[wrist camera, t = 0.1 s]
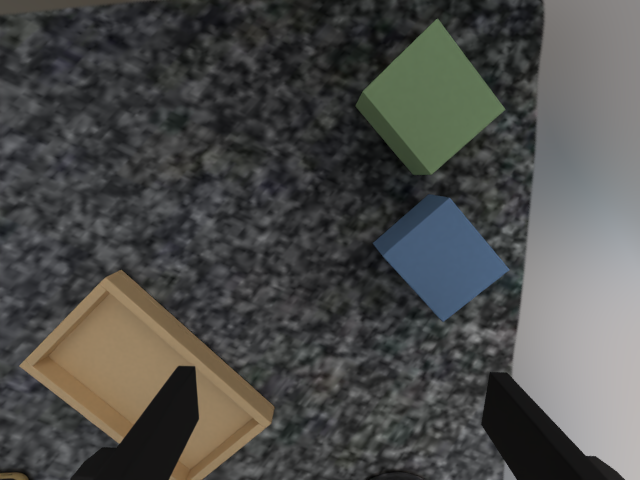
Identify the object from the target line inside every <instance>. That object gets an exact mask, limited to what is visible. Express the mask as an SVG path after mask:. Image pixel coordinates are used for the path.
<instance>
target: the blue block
mask: <svg viewBox="0 0 640 480" xmlns="http://www.w3.org/2000/svg"><path fill="white" fill-rule="evenodd" d="M373 244H374V246H375V247H376V248H377V250H378V251H379V252H380V253H381V255H382V256H383V257H384V258H385V259H386V260H387V262H388V263H389V264H390V265H391V266H392V267H393V268H394V269H395V270H396V271H397V272H398V274H399V275H400V276H401V277H402V278H403V279H404V280H405V281H406V282H407V283H408V285H409V286H410V287H411V288H412V289H413V290H414V291H415V292H416V293H417V294H418V295H419V297H420V298H421V299H422V300H423V301H424V302H425V303H426V304H427V305H428V306H429V307H430V309H431V310H432V311H433V312H434V313H435V314H436V315H437V316H438V317H439V318H440V320H441V321H443V322H444V321H445V320H446V319H448V318H449V317H450V316H451V315H453V314H454V313H455V312H457V311H458V310H459V309H460V308H462V307H463V306H464V305H465V304H467V303H468V302H469V301H471V300H472V299H473V298H474V297H476V296H477V295H478V294H479V293H481V292H482V291H483V290H484V289H486V288H487V287H488V286H490V285H491V284H492V283H493V282H495V281H496V280H497V279H498V278H500V277H501V276H502V275H504V274H505V273H506V272H507V271H509V269H508V267H507V266H506V265H505V264H504V262H503V261H502V260H501V259H500V258H499V256H498V255H497V254H496V253H495V252H494V250H493V249H492V248H491V247H490V246H489V244H488V243H487V242H486V241H485V240H484V238H483V237H482V236H481V235H480V234H479V232H478V231H477V230H476V229H475V228H474V226H473V225H472V224H471V223H470V221H469V220H468V219H467V218H466V217H465V215H464V214H463V213H462V212H461V211H460V209H459V208H458V207H457V206H456V205H455V203H454V202H453V201H452V200H451V199H450V198H448V197H442V196H436V195H430V194H428V195H427V196H426V197H425V198H424V199H423V200H422V201H420V202H419V203H418V204H417V205H416V206H415V207H414V208H412V209H411V210H410V211H409V212H408V213H407V214H405V215H404V216H403V217H402V218H401V219H400V220H399V221H397V222H396V223H395V224H394V225H393V226H392V227H391V228H389V229H388V230H387V231H386V232H385V233H384V234H383V235H381V236H380V237H379V238H378V239H377V240H376V241H375V242H373Z"/></svg>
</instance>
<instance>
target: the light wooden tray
mask: <svg viewBox="0 0 640 480" xmlns="http://www.w3.org/2000/svg"><path fill="white" fill-rule="evenodd" d="M178 366H195V368H196V382H197V395H198V408H199V420H198V422H197V424H196V426H195V428H194V430H193V432H192V434H191V436H190V438H189V440H188V442H187V444H186V446H185V448H184V450H183V452H182V454H181V456H180V458H179V460H178V462H177V464H176V466H175V468H174V470H173V472H172V475H171V477H170V479H169V480H202V479H203V478H205V477H206V476H207V475H208V474H210V473H211V472H212V471H213V470H215V469H216V468H217V467H218V466H220V465H221V464H222V463H223V462H224V461H226V460H227V459H228V458H229V457H231V456H232V455H233V454H234V453H236V452H237V451H238V450H239V449H240V448H242V447H243V446H244V445H245V444H247V443H248V442H249V441H250V440H252V439H253V438H254V437H255V436H257V435H258V434H259V433H260V432H261V431H263V430H264V429H265V428H266V427H268V426H269V425H270V424H271V422H272V417H273V412H274V406H273V405H272V404H271V403H270V402H269V401H268V400H266V399H265V398H264V397H263V396H262V395H261V394H260V393H259V392H258V391H256V390H255V389H254V388H253V387H252V386H251V385H250V384H249V383H247V382H246V381H245V380H244V379H243V378H242V377H241V376H240V375H239V374H237V373H236V372H235V371H234V370H233V369H232V368H231V367H230V366H228V365H227V364H226V363H225V362H224V361H223V360H222V359H221V358H220V357H218V356H217V355H216V354H215V353H214V352H213V351H212V350H211V349H209V348H208V347H207V346H206V345H205V344H204V343H203V342H202V341H201V340H199V339H198V338H197V337H196V336H195V335H194V334H193V333H192V332H190V331H189V330H188V329H187V328H186V327H185V326H184V325H183V324H182V323H180V322H179V321H178V320H177V319H176V318H175V317H174V316H173V315H171V314H170V313H169V312H168V311H167V310H166V309H165V308H164V307H163V306H161V305H160V304H159V303H158V302H157V301H156V300H155V299H154V298H152V297H151V296H150V295H149V294H148V293H147V292H146V291H145V290H144V289H142V288H141V287H140V286H139V285H138V284H137V283H136V282H135V281H133V280H132V279H131V278H130V277H129V276H128V275H127V274H126V273H125V272H123V271H122V270H120V271H118V272H116V273H114V274H112V275H109V276H107V277H105V278H104V279H103V280H102V281H101V282H100V284H98V285H97V286H96V287H95V288H94V289H93V290H92V292H91V293H90V294H89V295H88V296H87V297H86V298H85V299H84V300H83V301H82V302H81V303H80V304H79V305H78V306H77V307H76V308H75V309H74V310H73V311H72V312H71V313H70V314H69V315H68V316H67V317H66V318H65V319H64V320H63V321H62V322H61V323H60V324H59V325H58V327H57V328H56V329H55V330H54V331H53V332H52V333H51V334H50V335H49V336H48V337H47V338H46V339H45V340H44V341H43V342H42V343H41V344H40V345H39V346H38V347H37V348H36V349H35V350H34V351H33V352H32V353H31V354H30V355H29V356H28V357H27V358H26V359H25V360H24V361H23V362H22V363H21V365H20V367H21V368H23V369H24V370H25V371H26V372H28V373H29V374H30V375H32V376H33V377H34V378H35V379H37V380H38V381H39V382H41V383H42V384H43V385H44V386H46V387H47V388H48V389H50V390H51V391H52V392H53V393H55V394H56V395H57V396H59V397H60V398H61V399H62V400H64V401H65V402H66V403H68V404H69V405H70V406H71V407H73V408H74V409H75V410H77V411H78V412H79V413H80V414H82V415H83V416H84V417H86V418H87V419H88V420H89V421H91V422H92V423H93V424H95V425H96V426H97V427H98V428H100V429H101V430H102V431H104V432H105V433H106V434H107V435H109V436H110V437H111V438H113V439H114V440H115V441H116V442H118V443H119V444H120V443H121V441H122V440H123V439H124V437H125V436H126V435H127V433H128V432H129V431H130V429H131V428H132V427H133V425H134V424H135V423H136V421H137V420H138V419H139V417H140V416H141V415H142V413H143V412H144V411H145V409H146V408H147V407H148V405H149V404H150V403H151V401H152V400H153V399H154V397H155V396H156V395H157V393H158V392H159V391H160V389H161V388H162V387H163V385H164V384H165V383H166V381H167V380H168V379H169V377H170V376H171V375H172V373H173V372H174V371H175V369H176V368H177V367H178Z"/></svg>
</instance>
